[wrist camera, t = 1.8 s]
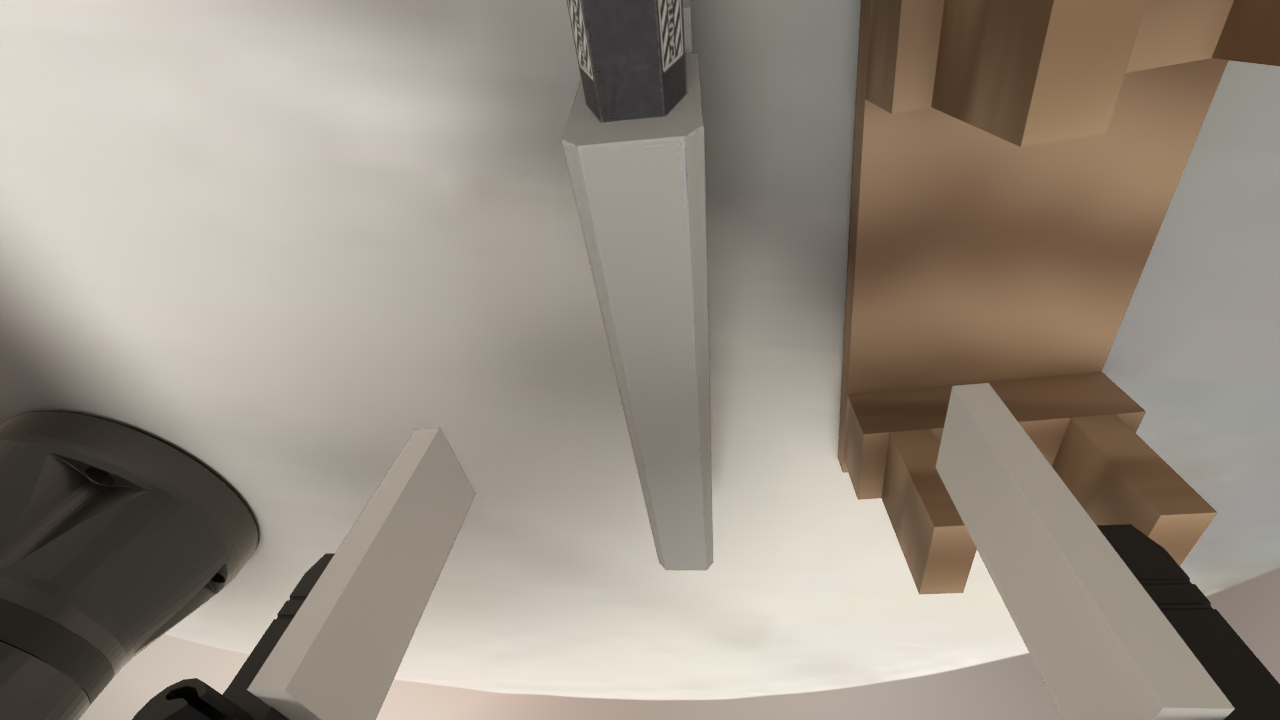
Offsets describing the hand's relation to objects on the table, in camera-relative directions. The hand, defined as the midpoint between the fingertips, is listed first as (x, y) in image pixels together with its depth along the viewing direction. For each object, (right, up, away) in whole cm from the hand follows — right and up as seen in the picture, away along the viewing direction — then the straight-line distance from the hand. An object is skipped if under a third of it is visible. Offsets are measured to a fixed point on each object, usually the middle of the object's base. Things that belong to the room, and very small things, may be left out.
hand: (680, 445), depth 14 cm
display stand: (+12, +7, +6) cm, 15 cm away
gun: (0, +6, +8) cm, 10 cm away
